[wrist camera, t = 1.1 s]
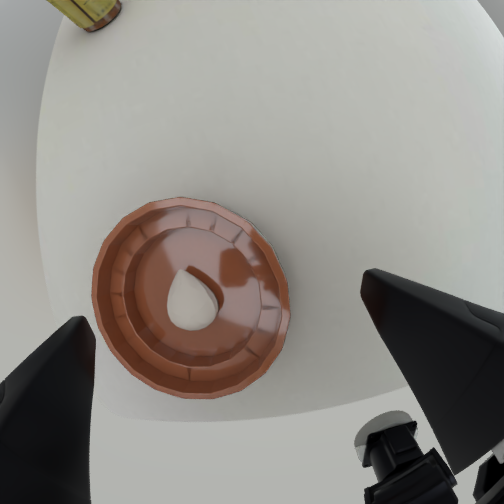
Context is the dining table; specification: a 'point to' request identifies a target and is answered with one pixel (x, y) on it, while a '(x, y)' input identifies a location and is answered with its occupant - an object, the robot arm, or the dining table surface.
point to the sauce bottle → (88, 12)
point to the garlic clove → (191, 302)
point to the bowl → (210, 273)
